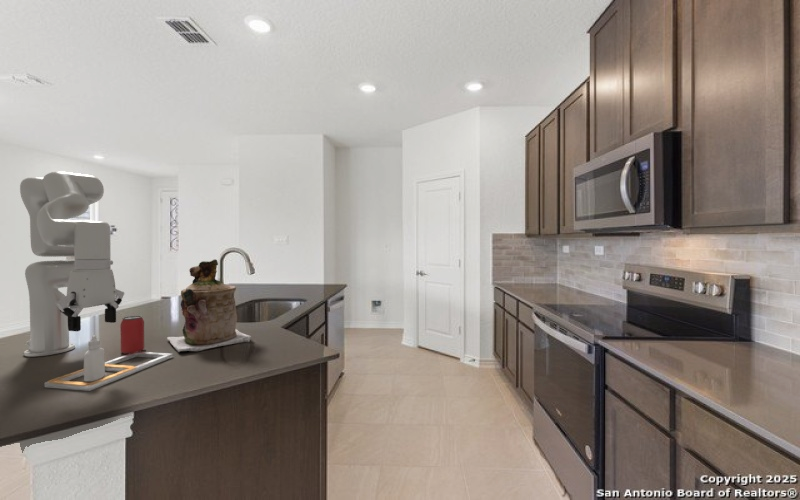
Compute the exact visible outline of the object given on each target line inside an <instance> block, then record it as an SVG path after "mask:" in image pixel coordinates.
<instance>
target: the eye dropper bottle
mask: <svg viewBox="0 0 800 500" xmlns="http://www.w3.org/2000/svg"><path fill="white" fill-rule="evenodd" d="M105 354H106V353H105V349H104V348H103V347H101V339H98V338H97V336H96V335H92V337H91V339H90V340H89V341H88V350H87V351H86V352H85V353H84V355H83V369H84V375H83V382H86V383H92V382H94V381H97V380H99V379H102V378H104V376H105V375H106V371H105V362H106V360H105V358H106V357H105Z"/></svg>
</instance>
